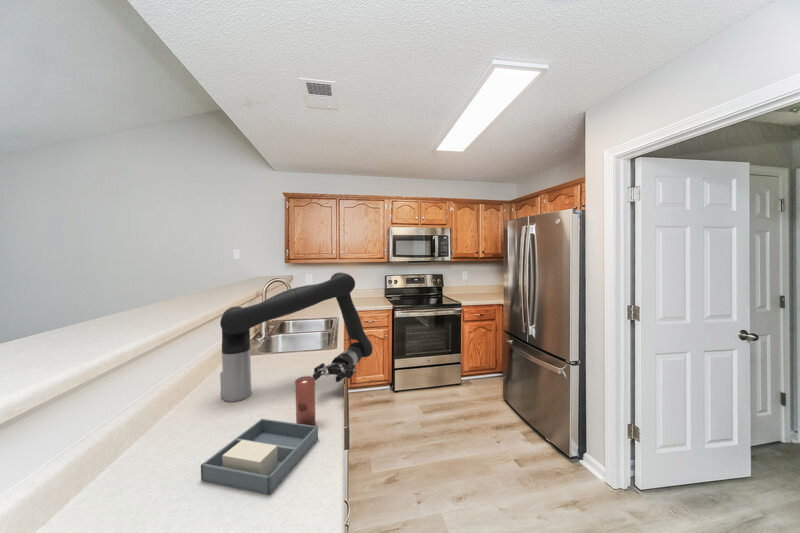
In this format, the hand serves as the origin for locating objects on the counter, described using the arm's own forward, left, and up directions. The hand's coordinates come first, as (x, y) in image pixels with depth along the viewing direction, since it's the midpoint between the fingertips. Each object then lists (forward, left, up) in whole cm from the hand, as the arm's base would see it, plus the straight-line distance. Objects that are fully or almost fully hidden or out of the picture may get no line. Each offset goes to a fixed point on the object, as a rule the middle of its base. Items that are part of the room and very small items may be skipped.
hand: (325, 378), depth 103 cm
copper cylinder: (0, -12, -9) cm, 15 cm away
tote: (-1, -29, -9) cm, 31 cm away
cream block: (-1, -34, -8) cm, 35 cm away
